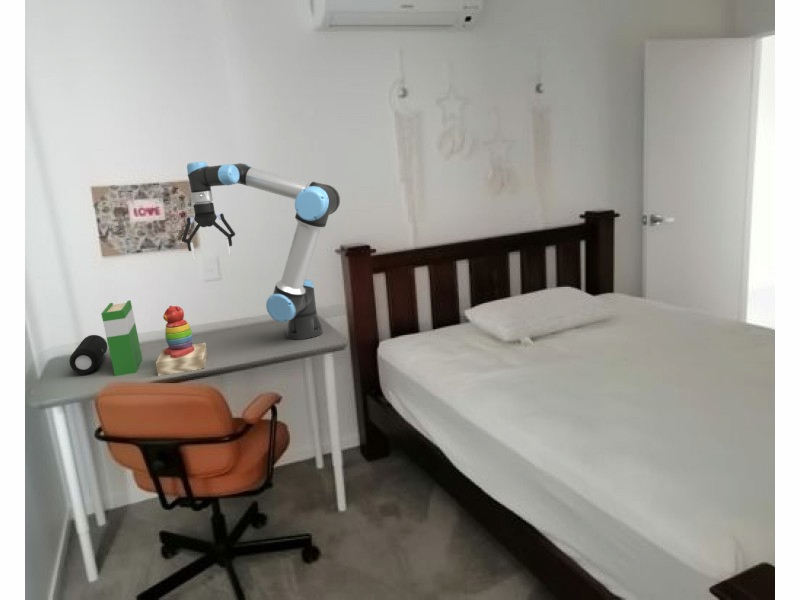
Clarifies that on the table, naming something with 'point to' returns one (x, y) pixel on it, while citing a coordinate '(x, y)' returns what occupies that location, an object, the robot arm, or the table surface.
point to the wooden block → (182, 361)
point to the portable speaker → (88, 354)
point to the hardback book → (122, 338)
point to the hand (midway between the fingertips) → (212, 256)
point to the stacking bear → (177, 333)
